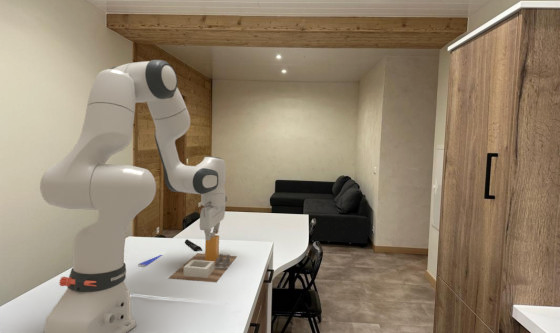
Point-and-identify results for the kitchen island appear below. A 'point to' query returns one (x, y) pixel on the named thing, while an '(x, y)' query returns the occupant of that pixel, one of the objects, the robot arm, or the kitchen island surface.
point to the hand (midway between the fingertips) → (212, 236)
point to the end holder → (199, 268)
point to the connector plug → (212, 248)
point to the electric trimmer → (193, 246)
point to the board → (219, 269)
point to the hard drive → (148, 261)
